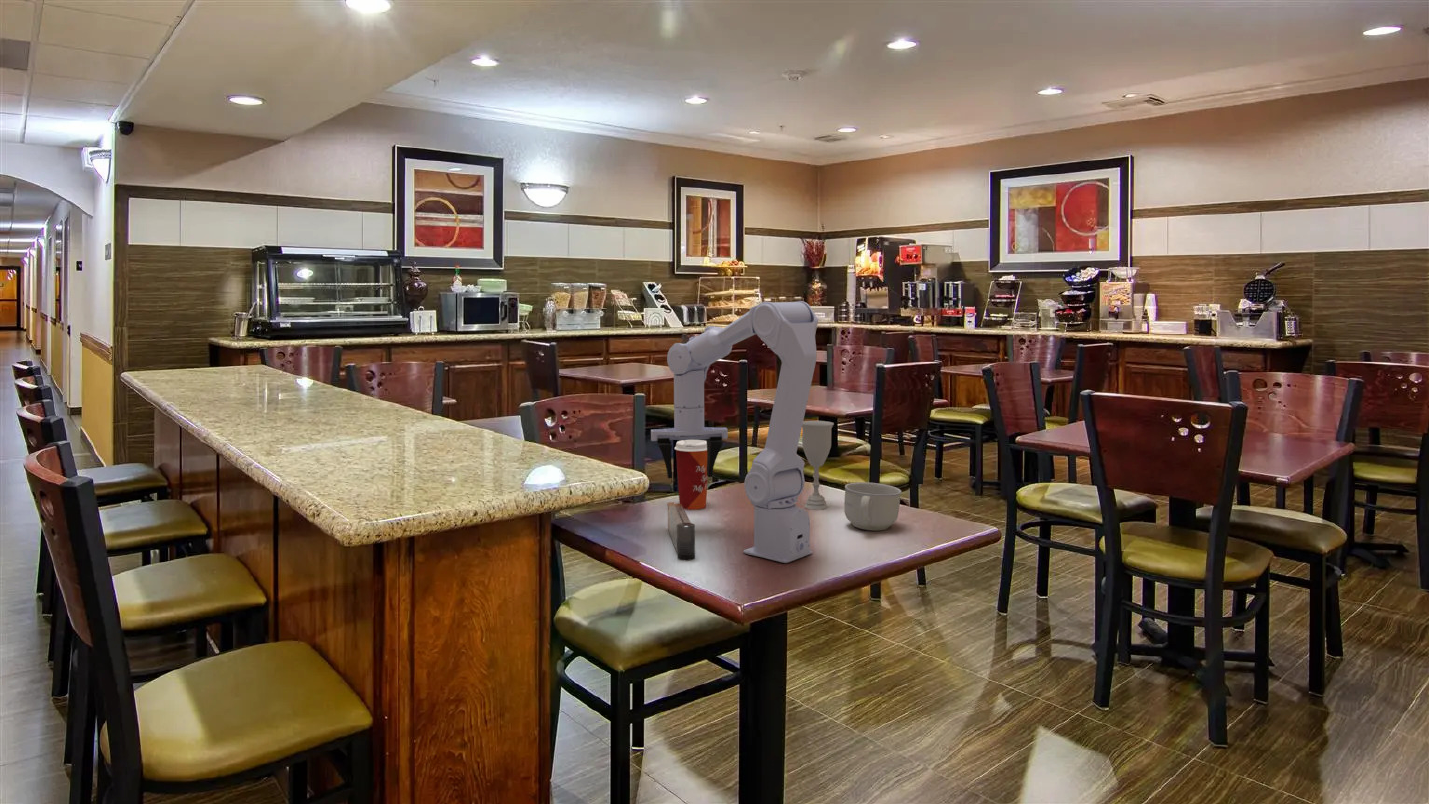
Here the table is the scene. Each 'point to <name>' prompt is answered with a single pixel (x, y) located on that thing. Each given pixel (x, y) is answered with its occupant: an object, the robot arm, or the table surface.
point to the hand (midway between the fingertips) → (689, 476)
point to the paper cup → (692, 473)
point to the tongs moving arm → (673, 523)
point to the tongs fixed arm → (685, 536)
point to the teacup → (871, 505)
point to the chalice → (816, 455)
